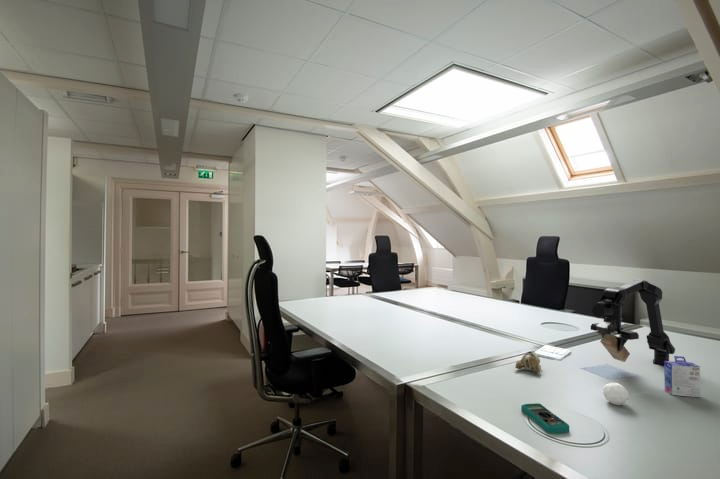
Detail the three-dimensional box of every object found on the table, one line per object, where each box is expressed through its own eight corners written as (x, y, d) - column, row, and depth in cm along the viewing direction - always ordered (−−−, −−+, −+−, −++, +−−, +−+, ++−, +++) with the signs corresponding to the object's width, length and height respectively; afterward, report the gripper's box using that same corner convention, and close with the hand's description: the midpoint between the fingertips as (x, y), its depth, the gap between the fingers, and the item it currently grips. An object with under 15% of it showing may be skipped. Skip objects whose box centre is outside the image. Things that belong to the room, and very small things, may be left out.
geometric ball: (609, 408, 133) (603, 386, 138) (634, 406, 128) (627, 384, 133) (603, 403, 129) (597, 380, 134) (629, 401, 124) (621, 378, 129)
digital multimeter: (549, 435, 110) (549, 426, 110) (520, 411, 125) (520, 402, 125) (571, 434, 111) (571, 424, 111) (539, 410, 126) (540, 401, 126)
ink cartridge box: (691, 391, 142) (691, 356, 142) (701, 398, 136) (701, 361, 136) (662, 389, 144) (663, 354, 144) (672, 395, 138) (672, 359, 138)
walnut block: (619, 350, 168) (605, 333, 165) (630, 353, 163) (616, 335, 160) (613, 358, 167) (600, 341, 164) (624, 362, 162) (610, 344, 159)
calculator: (571, 353, 190) (571, 349, 190) (560, 362, 176) (560, 358, 176) (545, 347, 200) (545, 344, 200) (532, 355, 186) (532, 352, 186)
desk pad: (607, 364, 172) (607, 364, 172) (637, 375, 158) (637, 374, 158) (580, 368, 166) (580, 368, 166) (609, 380, 153) (609, 379, 153)
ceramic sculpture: (544, 349, 167) (539, 359, 155) (544, 366, 168) (539, 378, 156) (520, 345, 174) (513, 354, 162) (521, 362, 174) (514, 373, 162)
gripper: (582, 313, 169) (582, 345, 169) (622, 322, 151) (621, 357, 152) (599, 311, 173) (598, 343, 173) (639, 320, 155) (639, 355, 155)
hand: (613, 349), depth 163 cm, fingers closed on walnut block, 5 cm apart
